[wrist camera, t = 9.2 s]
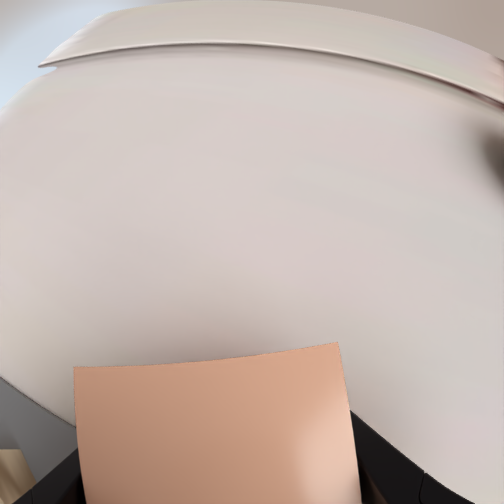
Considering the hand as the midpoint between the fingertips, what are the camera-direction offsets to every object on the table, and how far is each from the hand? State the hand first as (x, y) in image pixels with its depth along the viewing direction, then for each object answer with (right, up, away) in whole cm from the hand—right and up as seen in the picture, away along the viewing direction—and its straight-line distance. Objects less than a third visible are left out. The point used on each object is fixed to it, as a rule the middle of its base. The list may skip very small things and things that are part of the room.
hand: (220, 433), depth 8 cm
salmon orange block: (+1, -4, +5) cm, 7 cm away
